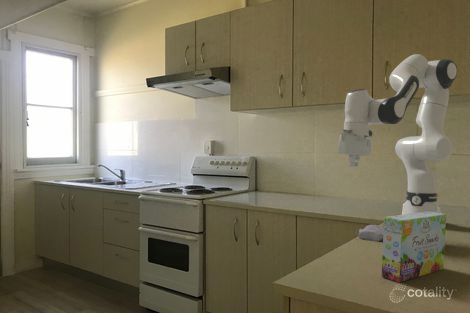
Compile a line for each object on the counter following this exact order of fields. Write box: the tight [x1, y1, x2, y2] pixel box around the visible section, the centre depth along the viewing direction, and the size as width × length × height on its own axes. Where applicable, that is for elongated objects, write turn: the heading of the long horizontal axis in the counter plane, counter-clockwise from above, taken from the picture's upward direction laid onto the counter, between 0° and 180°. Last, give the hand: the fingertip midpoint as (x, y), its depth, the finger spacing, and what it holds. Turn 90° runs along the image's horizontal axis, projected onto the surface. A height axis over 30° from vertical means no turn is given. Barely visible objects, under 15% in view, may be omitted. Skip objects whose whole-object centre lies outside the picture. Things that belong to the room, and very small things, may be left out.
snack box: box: [381, 212, 447, 283], centre depth 97 cm, size 21×6×15 cm, turn 126°
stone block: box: [358, 224, 384, 243], centre depth 138 cm, size 12×5×10 cm
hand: (353, 166), depth 146 cm, fingers closed
